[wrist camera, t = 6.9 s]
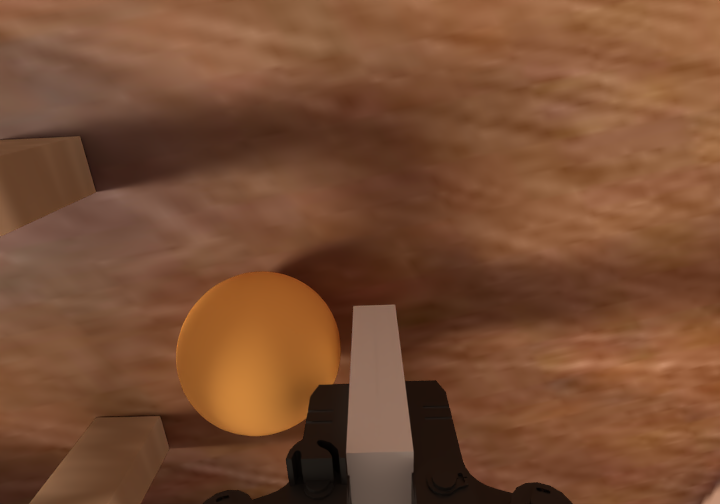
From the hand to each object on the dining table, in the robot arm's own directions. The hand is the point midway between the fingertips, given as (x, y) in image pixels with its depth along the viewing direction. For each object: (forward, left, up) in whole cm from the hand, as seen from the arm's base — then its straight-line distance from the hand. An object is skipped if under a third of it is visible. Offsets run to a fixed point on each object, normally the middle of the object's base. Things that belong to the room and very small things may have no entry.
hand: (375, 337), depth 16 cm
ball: (0, +4, +1) cm, 4 cm away
